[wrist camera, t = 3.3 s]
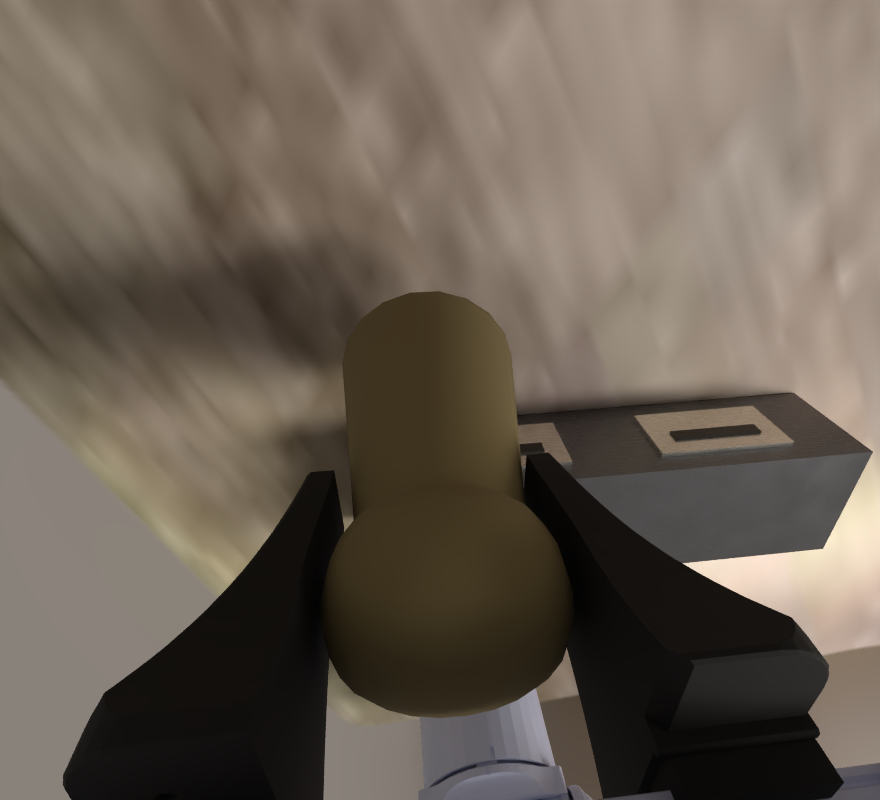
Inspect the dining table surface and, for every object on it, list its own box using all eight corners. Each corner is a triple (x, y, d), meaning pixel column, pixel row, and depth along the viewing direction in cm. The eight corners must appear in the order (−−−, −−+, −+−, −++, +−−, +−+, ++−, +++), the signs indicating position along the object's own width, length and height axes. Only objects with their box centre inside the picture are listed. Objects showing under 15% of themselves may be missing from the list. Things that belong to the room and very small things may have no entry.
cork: (307, 376, 18) (216, 703, 9) (422, 253, 16) (451, 526, 7) (431, 459, 21) (455, 778, 12) (545, 364, 19) (682, 668, 10)
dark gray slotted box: (759, 482, 29) (822, 548, 25) (377, 518, 28) (376, 594, 24) (795, 387, 26) (875, 446, 22) (364, 423, 25) (360, 493, 21)
